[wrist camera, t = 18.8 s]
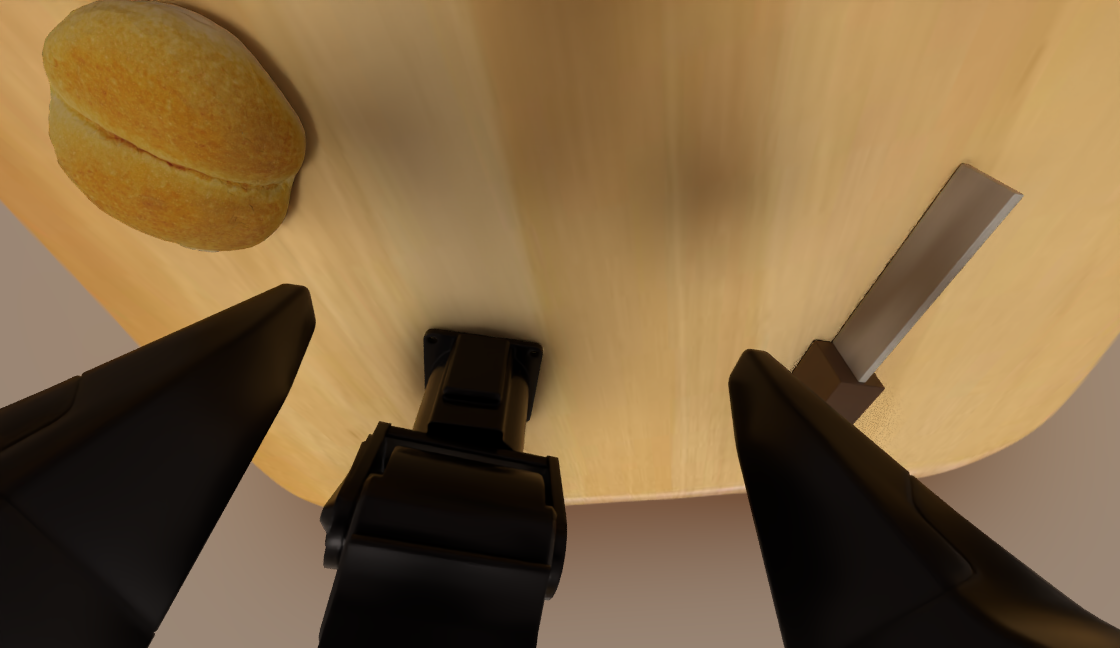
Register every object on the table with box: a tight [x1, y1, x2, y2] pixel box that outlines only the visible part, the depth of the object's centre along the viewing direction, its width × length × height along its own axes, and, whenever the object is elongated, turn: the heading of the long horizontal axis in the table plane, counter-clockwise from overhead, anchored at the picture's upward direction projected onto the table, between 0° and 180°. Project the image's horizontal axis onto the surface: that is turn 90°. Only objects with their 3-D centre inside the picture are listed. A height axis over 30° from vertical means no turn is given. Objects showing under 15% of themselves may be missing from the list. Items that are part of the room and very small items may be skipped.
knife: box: [792, 164, 1024, 424], centre depth 24 cm, size 20×2×3 cm, turn 170°
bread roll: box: [42, 0, 306, 252], centre depth 17 cm, size 8×9×4 cm
